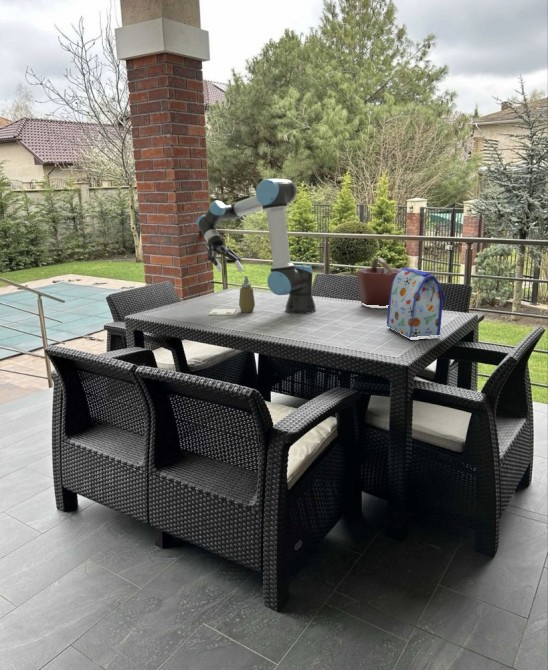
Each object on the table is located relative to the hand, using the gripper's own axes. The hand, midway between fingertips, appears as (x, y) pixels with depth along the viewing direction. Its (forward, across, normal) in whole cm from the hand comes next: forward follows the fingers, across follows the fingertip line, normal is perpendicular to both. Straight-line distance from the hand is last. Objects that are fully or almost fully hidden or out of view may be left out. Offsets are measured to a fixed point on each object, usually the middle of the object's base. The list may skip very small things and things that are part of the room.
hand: (231, 270), depth 267 cm
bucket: (+43, -62, +22) cm, 79 cm away
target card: (+14, +3, -16) cm, 22 cm away
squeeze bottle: (+19, -7, -10) cm, 22 cm away
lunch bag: (+80, -25, +48) cm, 96 cm away
